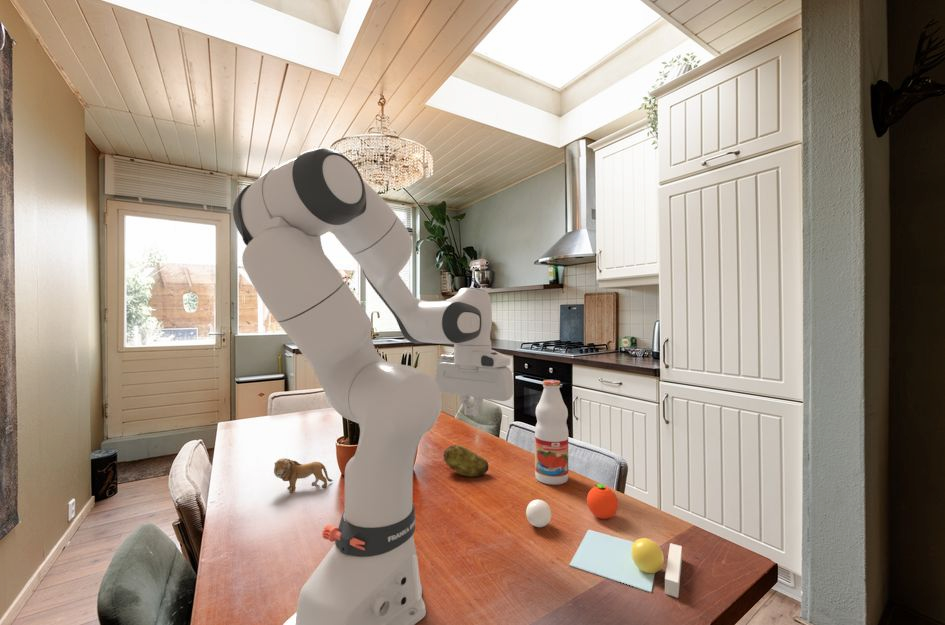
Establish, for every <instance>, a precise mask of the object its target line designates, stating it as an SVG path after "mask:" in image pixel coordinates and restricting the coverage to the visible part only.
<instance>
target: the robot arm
mask: <svg viewBox="0 0 945 625" xmlns="http://www.w3.org/2000/svg"><path fill="white" fill-rule="evenodd" d="M232 216H233V220H234V223H235V227H236V229H237V230H238V233H239V234H240V236H241V237H242V241H243V243H244V244H245V248H244V250H243V253H242V257H241V258H242V265H243V267H244V270H245V272H246V274H247V276H248V278H249V280H250V282H251V284H252V285H253V287H254V289H255V291H256V293H257V294H258V296H259V298H260V300H261V301H262V302H263V304H264V306H265V307H266V308H267V310H268V311H269V313H270V314H271V315H272V317H273V319H275V321H276V322H277V323H278V324H279V326H280V327H281V329H282V330H283V331H284V332H285V334H286V335H287V336H288V338H289V339H290V340H291V341H292V342H293V344H294V345H295V347H297V349H298V350H299V352H300V353H301V354H302V356H303V357H304V358H305V359H306V361H307V362H308V363H309V365H310V367H311V368H312V369H311V370H313V372H314V375H315V376H316V378H317V380H318V382H319V384H320V386H321V388H322V390H323V391H324V394H325V398H326V400H327V402H328V403H329V405H330V406H331V407H332V408H333V409H334V411H335V412H337V413H338V415H340V416H341V417H343V418H344V419H347V420H349V421H351V422H354V423H356V424H358V427H359V437H358V438H359V439H358V443H357V447H356V450H355V454H354V455H353V456H352V457H351V458H350V459H349V460H348V462H347V463H346V466H345V469H344V511H343V512H342V514H341V518H340V521H339V524H338V527H335V526H334V525H332V524H328V525H327V524H326V525H325V526H324V528H323V530H322V532H321V537H322V538H323V539H324V540H328V541H329V542H331V543H333V542H334V544H333V545H332V546H331V548H330V549H329V551H328V552H327V553H326V555H325V556H324V557H323V559H322V560H321V562H320V563H319V564H318V566H317V568H315V570H314V571H313V572H312V574H311V575H310V576H309V578H308V580H307V581H306V582H305V583H304V584H303V586H302V587H301V590H300V593H299V595H298V599H297V604H296V611H295V612H294V614H293V615H291V617H289V618H288V619H287V620H286V621H285V622H284V623H283V624H282V625H416V624H417V623H418V622H420V621H421V620H422V619H424V618H425V616H426V613H427V611H426V603H425V602H424V599H423V597H422V596H423V586H422V582H421V579H420V570H419V560H418V554H417V549H416V545H415V538H414V533H415V531H416V520H417V518H416V509H415V505H414V503H413V492H414V491H413V486H414V480H413V479H414V467H415V466H414V464H415V458H416V454H417V450H418V447H419V444H420V442H421V440H422V438H423V437H424V435H425V434H427V433H428V432H429V431H430V430H431V429H432V428H433V427H434V425H436V423H437V421H438V419H439V416H440V414H441V410H442V405H443V396H442V395H443V394H450V395H457V396H460V398H459V400H460V402H461V405H462V406H463V408H464V409H463V410H464V415H466V416H471V417H477V416H479V410H480V409H479V408H480V407H481V405H482V403H483V402H484V399H485V400H490V401H491V400H492V401H499V402H505V401H509V400H510V399H512V397H513V395H514V380H513V372H512V370H511V369H510V368H509V366H510V365H511V357H509V356H508V355H506V354H504V353H503V354H502V353H501V352H498V351H496V350H494V349H492V339H491V330H492V326H493V324H492V323H493V316H492V314H493V313H492V311H493V310H492V303H491V298H490V294H489V293H488V292H487V291H486V290H484V289H481V288H476V287H475V288H474V287H462V288H460V289H458V292H457V293H456V294H455V295H454V296H452V297H450V298H447V299H446V300H434V301H433V300H431V301H430V300H429V301H428V300H424V299H419V298H417V297H415V296H414V294H413V293H412V292H411V290H410V289H409V287H408V286H407V285H406V283H405V281H404V280H403V279H402V277H401V275H400V274H399V273H400V272H401V271H402V270H403V269H404V268H405V266H406V265H407V264H408V262H409V260H410V258H411V256H412V252H413V239H412V237H411V234H410V232H409V230H408V228H407V227H406V225H405V224H404V223H403V221H402V220H401V219H400V218H399V216H398V215H397V213H396V212H395V211H394V210H393V209H392V208H391V206H390V205H389V204H388V203H387V201H385V199H383V197H382V196H381V195H380V194H379V193H378V192H377V191H376V190H375V189H374V188H372V187H371V186H370V185H369V184H368V183H367V182H366V181H365V180H364V179H363V177H362V175H361V173H360V171H359V170H358V168H357V166H355V164H354V163H353V162H352V160H350V159H349V158H347V156H345V155H343V154H342V153H340V152H338V151H337V150H335V149H332V148H329V147H319V148H314V149H310V150H307V151H306V150H305V151H304V152H302V153H300V154H299V155H298V156H297V157H296V158H293V159H290V160H288V161H287V162H286V161H285V162H284V163H283V164H280V165H279V166H274V167H272V168H271V169H269V170H267V171H266V172H265V173H263V174H262V175H260V176H259V177H258V178H257V179H256V180H255V181H254V182H253V183H251V184H249V185H247V186H245V187H244V188H243V189H242V190H241V191H240V192H239V194H238V195H237V197H236V199H235V201H234V203H233V208H232ZM327 233H331V234H333V235H334V237H335V238H336V239H337V240H338V241H339V243H340V244H341V246H343V247H344V249H346V251H347V252H348V253H349V254H350V256H352V257H353V259H354V260H355V261H356V262H357V263H358V265H359V266H360V268H361V270H362V272H363V275H364V277H365V278H366V280H367V282H368V284H369V285H370V286H371V287H372V289H373V290H374V292H375V293H376V294H377V296H378V297H379V299H381V301H382V302H383V304H385V306H386V307H387V308H388V309H389V312H390V313H391V314H392V315H393V316H394V318H395V320H396V323H397V325H398V326H399V330H400V331H401V334H402V335H403V337H404V339H406V340H407V341H409V342H410V343H413V344H438V345H440V344H441V345H443V344H445V345H453V347H454V348H453V349H454V350H453V352H454V354H452V355H450V354H449V355H447V354H441V355H440V356H439V357H438V358H437V360H436V370H435V375H434V378H433V377H432V376H430V375H429V374H427V373H425V371H422V370H421V369H418V368H416V367H413V366H411V365H408V364H407V365H406V364H400V363H394V362H389V361H387V360H386V359H384V358H383V357H382V356H381V355H380V354H379V353H378V351H377V349H376V347H375V345H374V342H373V338H372V335H371V331H372V321H371V319H370V317H369V316H368V314H367V313H366V311H365V309H364V308H363V306H362V305H361V303H360V302H359V300H358V299H357V297H356V296H355V294H354V293H353V291H352V289H351V288H350V287H349V285H348V283H347V282H346V280H345V279H344V277H343V276H342V275H341V274H340V272H339V271H338V269H337V267H336V266H335V265H334V264H333V262H332V261H331V260H330V259H329V258H328V257H327V255H326V254H325V252H324V249H323V245H322V241H321V240H322V239H321V236H323V235H326V234H327ZM471 398H473V403H474V404H473V406H471V404H470V402H469V400H470V399H471Z"/></svg>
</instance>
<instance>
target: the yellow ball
mask: <svg viewBox="0 0 945 625" xmlns="http://www.w3.org/2000/svg"><path fill="white" fill-rule="evenodd" d="M633 542H634V543H633V545H632V548H631V556H632V559H633V562H634V563H635V565H636V566H637V567H638V568H639V569H640V570H642V571H643V572H646V573H655V574H656V573H658V572H659V571H660V570H662V567H663V566H664V563H665V562H664V560H665V558H664V553H663V550H662V549H661V547H660V546H659V545H658V543H657V542H655V541H654V540H652V539H650V538H646V537H642V538H638V539H636V540H635V541H633Z"/></svg>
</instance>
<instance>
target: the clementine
mask: <svg viewBox="0 0 945 625" xmlns="http://www.w3.org/2000/svg"><path fill="white" fill-rule="evenodd" d="M586 504H587V507H588V509H589V511H590V512H591V513H592V514H593V515H594V516H595V517H597V518H599V519H605V520H606V519H607V520H608V519H610V518H612V517H613V516H615V514H616V513H617V511H618V508H619V502H618V497H617V494H616V493H615V492H614V491H613V490H612V489H611V488H610V487H608V486H606V485H603V484H601V483H600V484H599V483H596V484H595V485H594V487H592V488H591V489H590V490H589V491H588V493H587V496H586Z"/></svg>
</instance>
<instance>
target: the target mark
mask: <svg viewBox="0 0 945 625" xmlns="http://www.w3.org/2000/svg"><path fill="white" fill-rule="evenodd" d="M634 542H635V541H631V540H627V539H625V538H621V537H616V536H613V535H611V534H610V535H609V534H606V533H603V532H599V531H595V530H592V529H588V530H587V531H586V533H585V535H584V536H583V539H582V540H581V542H580V544H579V546H578V548H577V549H576V551H575V553H574V555H573V557H572V558H571V561H570V563H569V565H568V566H569V567H572V568H575V569H578V570H581V571H583V572H588V573H590V574H593V575H596V576H599V577H602V578H605V579H607V580H611V581H614V582H616V583H620V582H621V583H620V584H623V583H624V584H623V585H626V584H627V585H626V586H629V585H630V586H629V587H632V586H633V587H632V588H635V589H638V590H641V591H643V592H647V593H652V592H653V586H654V580H655V575H656V572H655V573H646V572H643V571H642V570H640V569H639V568H638V567H637V566H636V565H635V563H634V562H633V559H632V556H631V548H632V545H633V543H634Z"/></svg>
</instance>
